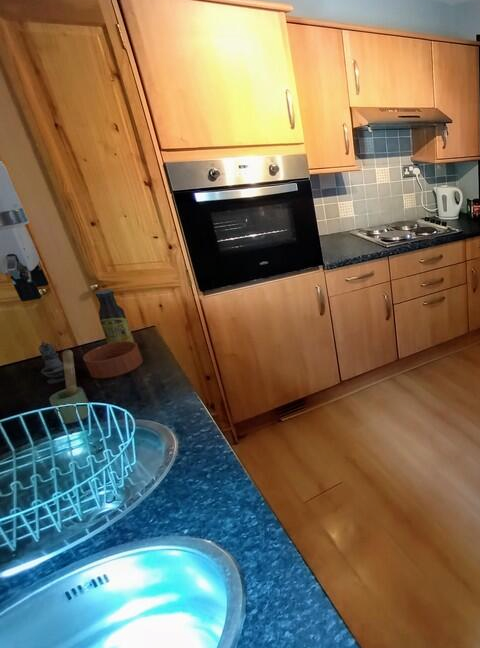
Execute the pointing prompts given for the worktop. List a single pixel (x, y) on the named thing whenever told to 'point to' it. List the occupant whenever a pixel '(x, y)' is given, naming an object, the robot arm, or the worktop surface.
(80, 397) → the holder
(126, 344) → the bowl
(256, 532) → the worktop surface
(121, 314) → the sauce bottle
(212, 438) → the worktop surface
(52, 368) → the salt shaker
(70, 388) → the stick
